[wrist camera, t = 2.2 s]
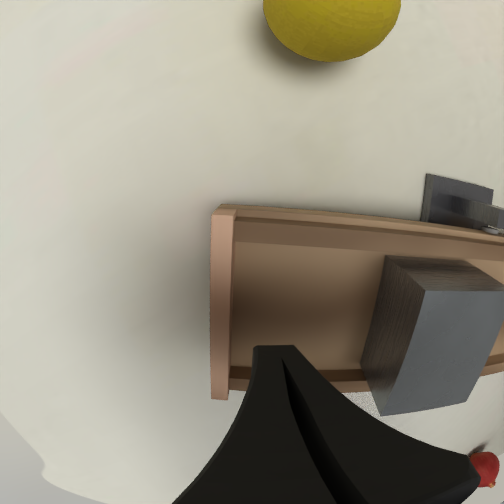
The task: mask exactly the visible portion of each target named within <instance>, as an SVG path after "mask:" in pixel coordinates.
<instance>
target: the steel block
mask: <svg viewBox="0 0 504 504" xmlns="http://www.w3.org/2000/svg"><path fill="white" fill-rule="evenodd" d="M503 321H504V285H503V284H502V283H500V282H499V281H497V280H496V279H494V278H493V277H491V276H490V275H488V274H487V273H485V272H483V271H482V270H480V269H479V268H477V267H476V266H474V265H472V264H471V263H469V262H467V261H462V260H449V259H436V258H422V257H409V256H395V255H385V260H384V265H383V270H382V275H381V280H380V285H379V289H378V294H377V298H376V303H375V307H374V311H373V315H372V319H371V323H370V327H369V331H368V335H367V338H366V342H365V346H364V349H363V353H362V356H361V360H360V363H359V364H360V366H361V369H362V371H363V373H364V376H365V378H366V381H367V383H368V386H369V388H370V391H371V393H372V396H373V398H374V401H375V403H376V406H377V408H378V411H379V414H380V416H388V415H396V414H403V413H410V412H417V411H423V410H429V409H434V408H440V407H445V406H449V405H454V404H459V403H463V402H466V400H467V399H468V397H469V395H470V393H471V391H472V390H473V388H474V386H475V384H476V382H477V380H478V378H479V376H480V374H481V372H482V370H483V368H484V366H485V364H486V362H487V359H488V357H489V355H490V353H491V350H492V348H493V346H494V343H495V341H496V339H497V336H498V334H499V331H500V329H501V326H502V323H503Z"/></svg>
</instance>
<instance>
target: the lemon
mask: <svg viewBox="0 0 504 504" xmlns="http://www.w3.org/2000/svg"><path fill="white" fill-rule="evenodd" d="M400 7H401V0H263V10H264V14H265V17H266V20H267V23H268V25H269V27H270V29H271V30H272V32H273V33H274V35H275V36H276V38H277V39H278V40H279V41H280V42H282V43H283V44H284V45H285V46H286V47H287V48H288V49H290V50H292V51H293V52H295V53H297V54H298V55H301V56H304V57H306V58H309V59H312V60H318V61H324V62H337V61H345V60H349V59H352V58H356V57H359V56H362V55H364V54H365V53H367V52H368V51H370V50H372V49H373V48H375V47H377V46H378V45H379V44H380V43H381V42H382V41H383V40H384V39H385V37H386V36H387V35H388V34H389V32H390V31H391V30H392V28H393V27H394V25H395V23H396V21H397V18H398V15H399V11H400Z"/></svg>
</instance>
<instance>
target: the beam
mask: <svg viewBox="0 0 504 504" xmlns="http://www.w3.org/2000/svg"><path fill="white" fill-rule="evenodd" d="M498 232H499V230H497V229H494V228H491V227H487V226H481V230H476V229H470V228H463V227H456V226H449V225H442V224H435V223H427V222H419V221H411V220H403V219H395V218H386V217H377V216H368V215H358V214H348V213H338V212H327V211H316V210H304V209H291V208H277V207H263V206H247V205H230V204H221V205H220V206H219V207H218V208H217V209H216V210H215V211H214V212H213V214H212V215H211V255H210V363H211V399H218V400H228V394H229V390H238V391H247V388H248V385H249V381H250V378H251V369H252V356H253V348H254V347H255V346H257V345H294V346H295V347H296V348H297V349H298V350H299V351H300V352H301V353H302V354H303V355H304V356H305V358H306V359H307V360H308V361H309V362H310V363H311V364H312V365H313V366H314V367H315V368H316V369H317V370H318V372H319V373H320V374H321V375H322V376H323V377H324V378H326V379H327V380H328V381H329V382H330V383H331V384H332V385H333V386H334V387H335V388H336V389H337V390H338V391H339V392H341V393H349V392H368V391H370V388H369V386H368V383H367V381H366V378H365V376H364V373H363V371H362V369H361V366H360V364H359V363H360V360H361V356H362V353H363V349H364V346H365V342H366V338H367V335H368V331H369V327H370V323H371V319H372V315H373V311H374V307H375V303H376V298H377V294H378V289H379V285H380V280H381V275H382V270H383V265H384V260H385V255H395V256H409V257H422V258H436V259H449V260H462V261H467V262H469V263H471V264H472V265H474V266H476V267H477V268H479V269H480V270H482V271H483V272H485V273H487V274H488V275H490V276H491V277H493V278H494V279H496V280H497V281H499V282H500V283H502V284H503V285H504V234H501V233H498ZM502 371H504V321H503V323H502V326H501V329H500V331H499V334H498V336H497V339H496V341H495V343H494V346H493V348H492V350H491V353H490V355H489V357H488V359H487V362H486V364H485V366H484V368H483V370H482V372H481V374H480V376H485V375H489V374H494V373H498V372H502ZM480 376H479V377H480Z"/></svg>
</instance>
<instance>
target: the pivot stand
mask: <svg viewBox="0 0 504 504" xmlns="http://www.w3.org/2000/svg"><path fill="white" fill-rule="evenodd" d="M492 198H493V189H489V188H486V187H482V186H478V185H474V184H470V183H466V182H462V181H458V180H454V179H450V178H445V177H441V176H436V175H431V174H426V183H425V192H424V200H423V207H422V214H421V221H420V222H427V223H435V224H442V225H449V226H456V227H463V228H470V229H476V230H481V226H487V227H488V225H490V226H493V227H496V228H501V229H504V208H501V207H498V206H494V205H492Z"/></svg>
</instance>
